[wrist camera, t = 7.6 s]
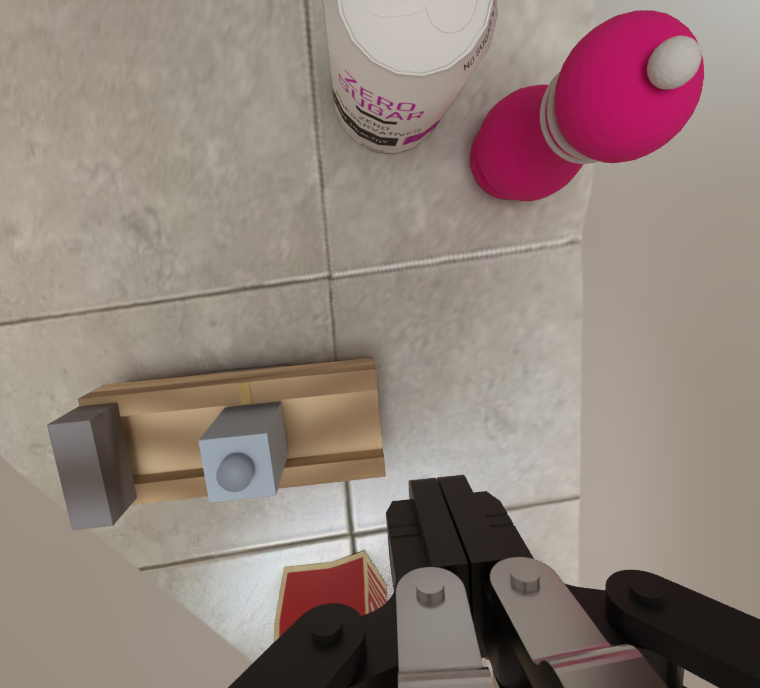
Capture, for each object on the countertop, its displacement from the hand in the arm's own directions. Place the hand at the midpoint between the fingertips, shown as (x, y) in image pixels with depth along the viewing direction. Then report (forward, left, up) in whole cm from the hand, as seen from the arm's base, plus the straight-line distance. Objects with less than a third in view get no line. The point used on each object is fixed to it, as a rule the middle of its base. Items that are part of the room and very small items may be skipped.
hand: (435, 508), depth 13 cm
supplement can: (-18, +2, -27) cm, 32 cm away
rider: (+5, -9, -21) cm, 24 cm away
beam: (+5, -11, -27) cm, 29 cm away
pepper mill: (-13, +11, -27) cm, 32 cm away
